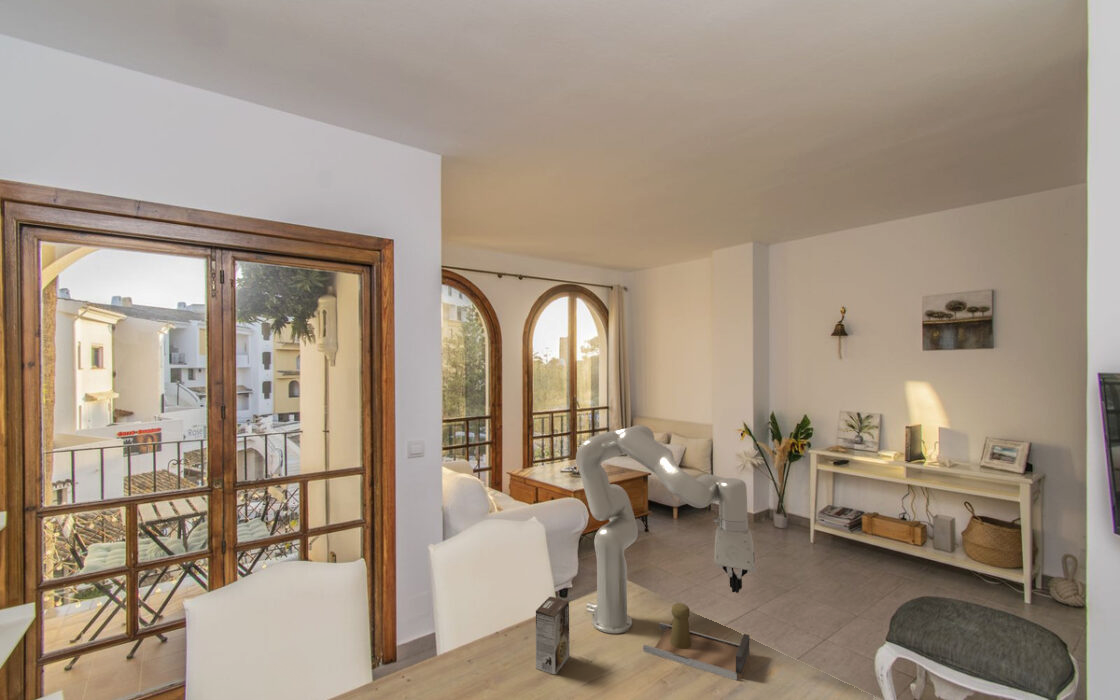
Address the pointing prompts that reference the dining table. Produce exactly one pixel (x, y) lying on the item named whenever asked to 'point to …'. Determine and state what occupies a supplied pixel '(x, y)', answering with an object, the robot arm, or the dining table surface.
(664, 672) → the dining table surface
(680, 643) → the cork
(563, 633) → the coffee box
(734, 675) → the rails
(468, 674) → the dining table surface
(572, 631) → the dining table surface
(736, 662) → the brown tray
